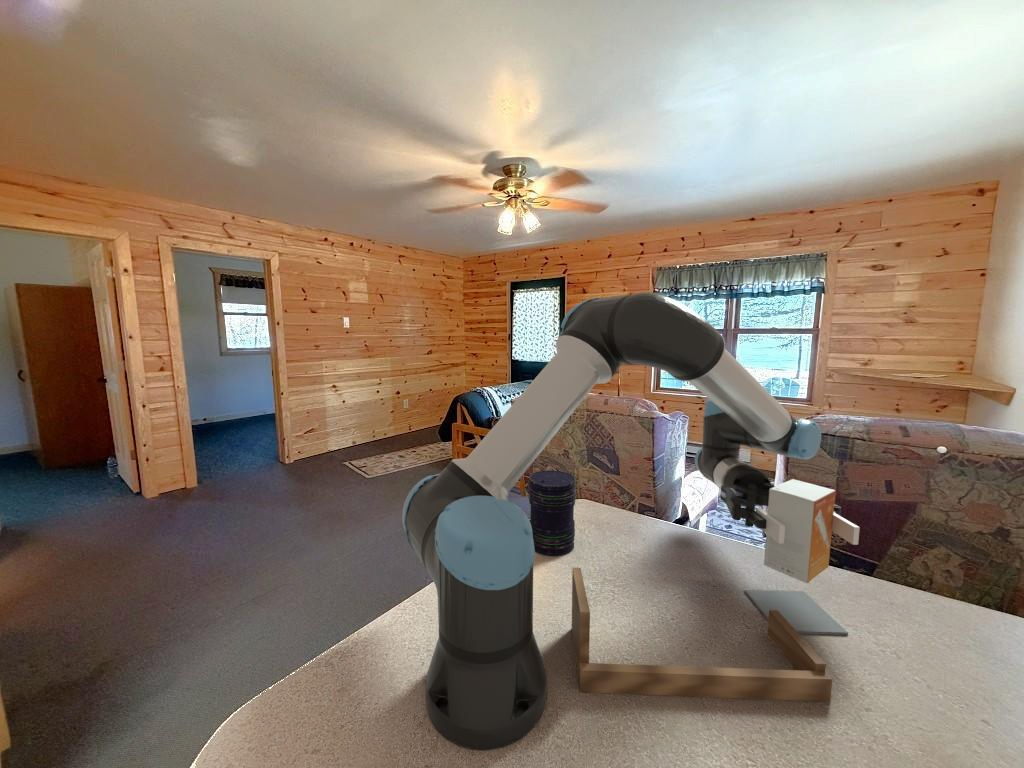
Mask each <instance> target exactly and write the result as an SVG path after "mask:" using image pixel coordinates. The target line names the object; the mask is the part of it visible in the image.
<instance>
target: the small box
mask: <svg viewBox="0 0 1024 768" xmlns="http://www.w3.org/2000/svg"><path fill="white" fill-rule="evenodd" d="M774 486H775V485H774ZM836 491H837V490H835V489H832V488H829V487H825V486H820V485H817V484H814V483H809V482H806V481H803V480H799V479H798V480H797V479H794V478H792V479H790V480H787V481H784V482H781V483H779V484H777V485H776V486H775V487H773V488H770V489H769V502H768V506H767V513H768V514H769V515H771V516H772V517H773V518H775V519H776V520H777V521H779V522H780V523H781V524H783V525H784V526H785V535H784V544H779V543H778V542H776V541H775V540H774V539H773V538H772V537H770V536H769V535H768V534H767V533H766V532H765V534H766V535H765V545H764V547H765V548H764V560H763V565H764V566H766V567H767V568H769V569H772V570H774V571H777V572H779V573H781V574H784V575H785V576H788V577H789V578H792V579H795V580H797V581H801V582H802V583H805V584H809V583H810V582H811V581H812V580H813V579H815V578H816V577H817V576H818V575H819V574H821V573H822V572H824V571H825V570H827V569H828V568H829V567H830V566H829V564H830V557H831V555H830V554H831V543H832V542H831V541H832V535H833V534H832V533H833V532H832V523H833V513H834V504H835V501H836Z"/></svg>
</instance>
